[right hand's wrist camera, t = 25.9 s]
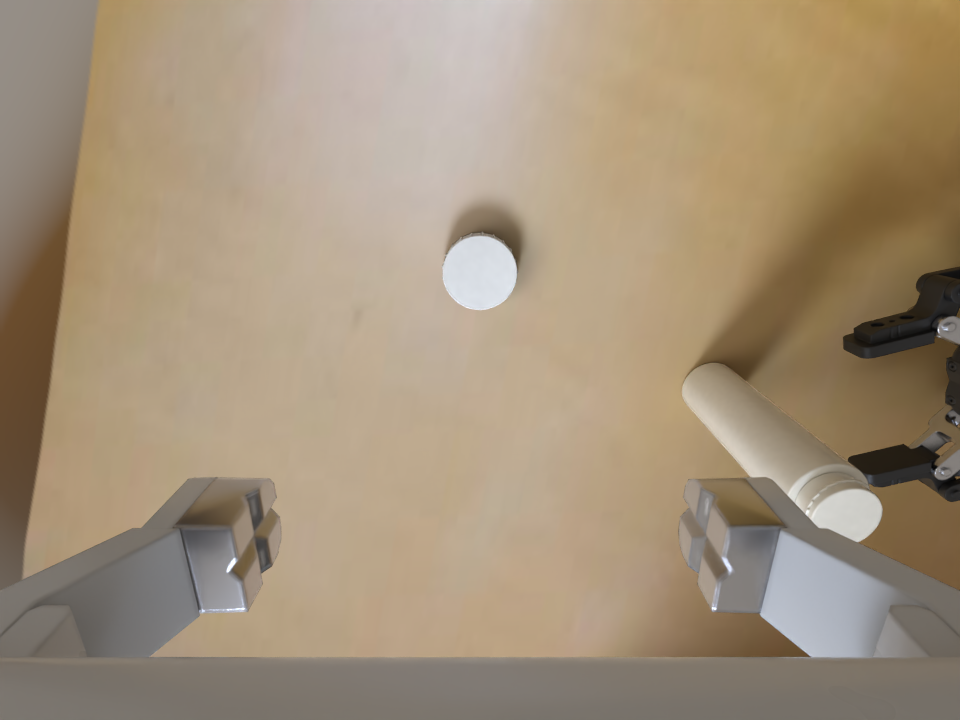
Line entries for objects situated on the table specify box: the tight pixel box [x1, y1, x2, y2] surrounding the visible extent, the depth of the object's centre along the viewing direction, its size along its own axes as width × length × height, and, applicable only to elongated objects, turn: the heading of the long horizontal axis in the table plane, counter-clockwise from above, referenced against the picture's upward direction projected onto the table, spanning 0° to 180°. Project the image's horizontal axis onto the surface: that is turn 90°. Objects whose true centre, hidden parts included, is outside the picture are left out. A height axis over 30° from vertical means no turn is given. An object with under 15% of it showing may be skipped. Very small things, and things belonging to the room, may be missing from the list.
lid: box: [442, 232, 518, 310], centre depth 34 cm, size 5×5×2 cm
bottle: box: [682, 363, 883, 542], centre depth 31 cm, size 4×4×15 cm
